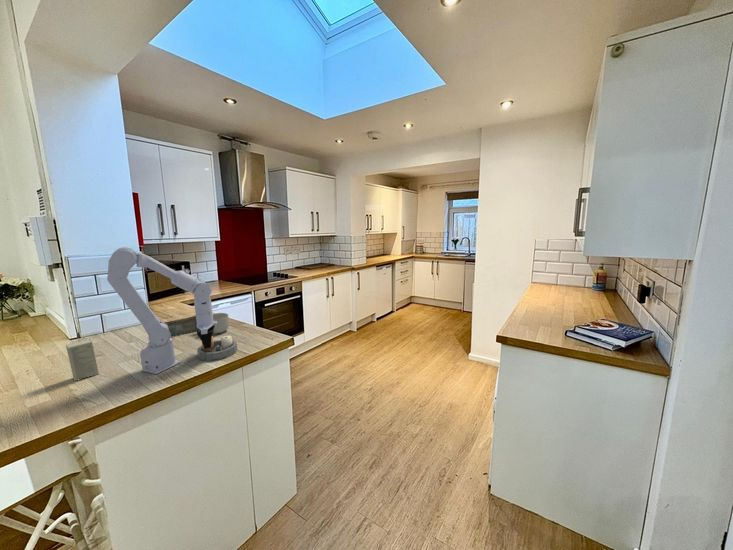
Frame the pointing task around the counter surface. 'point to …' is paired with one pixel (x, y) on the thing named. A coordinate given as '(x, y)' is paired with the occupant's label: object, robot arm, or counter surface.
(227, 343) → the bead cream
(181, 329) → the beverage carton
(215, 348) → the groove tray
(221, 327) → the teacup
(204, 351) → the bead terracotta
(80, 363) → the skincare box
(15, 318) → the counter surface
